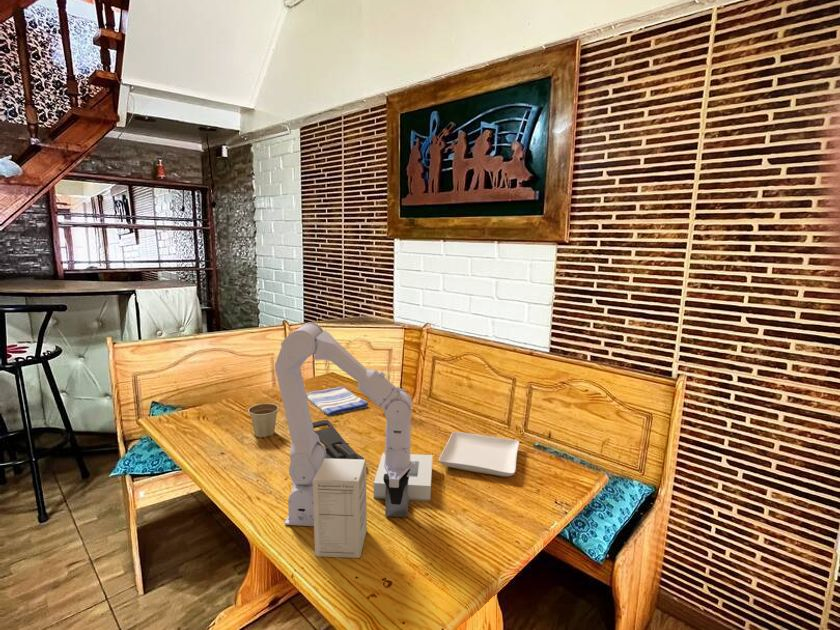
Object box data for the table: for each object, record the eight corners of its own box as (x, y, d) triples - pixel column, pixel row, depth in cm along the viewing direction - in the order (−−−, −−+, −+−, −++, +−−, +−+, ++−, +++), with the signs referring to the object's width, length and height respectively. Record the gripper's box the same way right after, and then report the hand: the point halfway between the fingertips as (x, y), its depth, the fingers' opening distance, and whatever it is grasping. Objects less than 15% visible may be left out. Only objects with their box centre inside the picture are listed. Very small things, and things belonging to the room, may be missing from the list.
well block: (430, 501, 110) (430, 486, 109) (373, 498, 111) (373, 483, 110) (432, 468, 126) (432, 455, 125) (382, 466, 127) (382, 452, 126)
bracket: (406, 517, 103) (407, 484, 102) (385, 515, 103) (385, 483, 102) (409, 502, 109) (409, 471, 108) (388, 501, 109) (388, 470, 108)
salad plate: (519, 449, 139) (519, 439, 139) (514, 484, 119) (515, 472, 119) (452, 440, 145) (452, 430, 144) (437, 471, 125) (437, 460, 124)
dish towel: (344, 391, 190) (344, 384, 189) (370, 408, 171) (370, 401, 170) (304, 398, 180) (304, 391, 180) (327, 417, 161) (326, 410, 161)
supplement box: (367, 529, 99) (368, 458, 96) (360, 559, 90) (360, 481, 87) (324, 527, 99) (323, 456, 96) (313, 557, 90) (311, 479, 87)
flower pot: (280, 437, 143) (280, 412, 142) (249, 442, 140) (248, 415, 138) (278, 426, 152) (277, 402, 150) (248, 430, 148) (247, 405, 147)
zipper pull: (328, 418, 143) (369, 447, 124) (329, 437, 144) (369, 469, 125) (302, 424, 138) (340, 456, 118) (302, 444, 139) (340, 479, 119)
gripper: (413, 460, 94) (411, 519, 96) (417, 431, 108) (416, 483, 111) (379, 459, 95) (379, 517, 97) (388, 430, 109) (387, 482, 111)
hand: (396, 499), depth 104 cm, fingers closed on bracket, 2 cm apart
